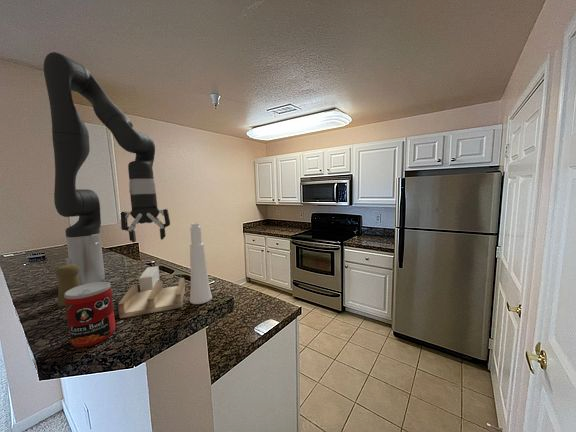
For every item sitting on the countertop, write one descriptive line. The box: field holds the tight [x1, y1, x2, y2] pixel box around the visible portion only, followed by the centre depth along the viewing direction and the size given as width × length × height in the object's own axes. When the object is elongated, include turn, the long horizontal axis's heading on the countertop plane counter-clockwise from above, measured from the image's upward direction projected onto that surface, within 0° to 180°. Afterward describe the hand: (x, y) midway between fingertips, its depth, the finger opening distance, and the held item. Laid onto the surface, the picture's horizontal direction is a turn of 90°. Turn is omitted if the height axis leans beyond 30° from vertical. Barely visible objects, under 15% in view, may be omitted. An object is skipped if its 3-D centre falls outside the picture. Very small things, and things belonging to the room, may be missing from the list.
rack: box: [117, 277, 186, 319], centre depth 70 cm, size 14×14×4 cm
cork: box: [55, 264, 81, 307], centre depth 72 cm, size 6×6×11 cm
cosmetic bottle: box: [189, 222, 213, 305], centre depth 69 cm, size 6×6×22 cm
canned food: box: [64, 281, 116, 348], centre depth 53 cm, size 8×8×11 cm
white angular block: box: [138, 265, 160, 292], centre depth 82 cm, size 4×12×5 cm, turn 19°
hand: (148, 240), depth 84 cm, fingers open, 8 cm apart
